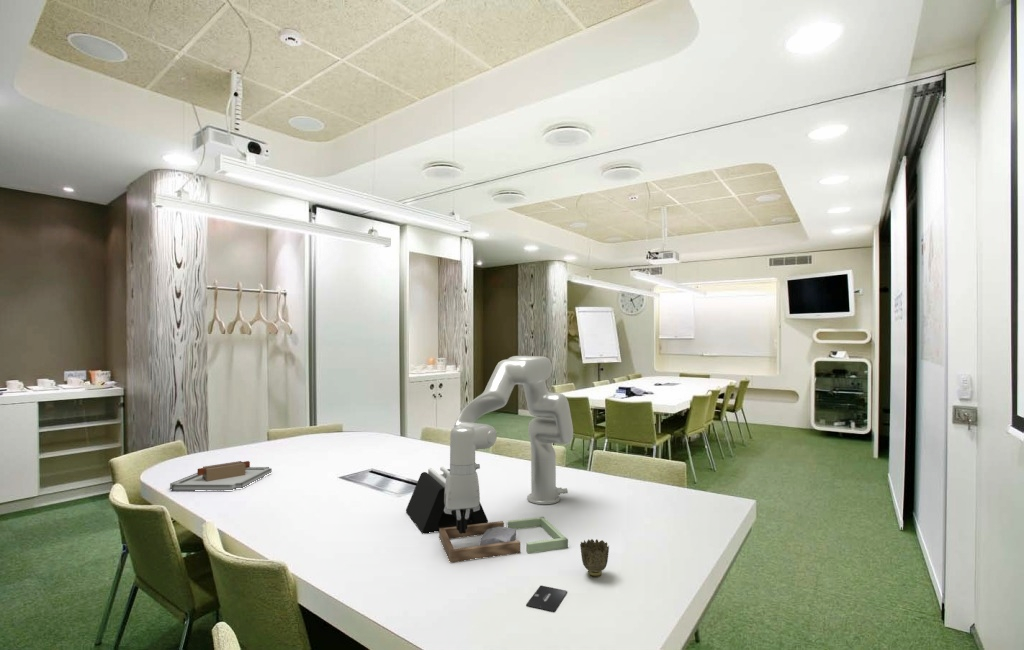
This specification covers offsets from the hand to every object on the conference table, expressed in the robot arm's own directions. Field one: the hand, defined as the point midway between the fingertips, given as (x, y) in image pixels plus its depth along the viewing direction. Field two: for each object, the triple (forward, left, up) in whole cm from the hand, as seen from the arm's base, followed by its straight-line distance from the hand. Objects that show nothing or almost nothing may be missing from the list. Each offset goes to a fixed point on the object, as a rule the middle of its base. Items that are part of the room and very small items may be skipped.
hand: (461, 531), depth 145 cm
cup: (-29, +28, -5) cm, 41 cm away
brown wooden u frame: (-5, 0, -5) cm, 7 cm away
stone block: (-11, 0, -5) cm, 12 cm away
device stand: (0, -27, -5) cm, 27 cm away
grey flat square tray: (+86, -103, -6) cm, 134 cm away
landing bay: (-24, 0, -5) cm, 24 cm away
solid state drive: (-13, +35, -5) cm, 37 cm away
